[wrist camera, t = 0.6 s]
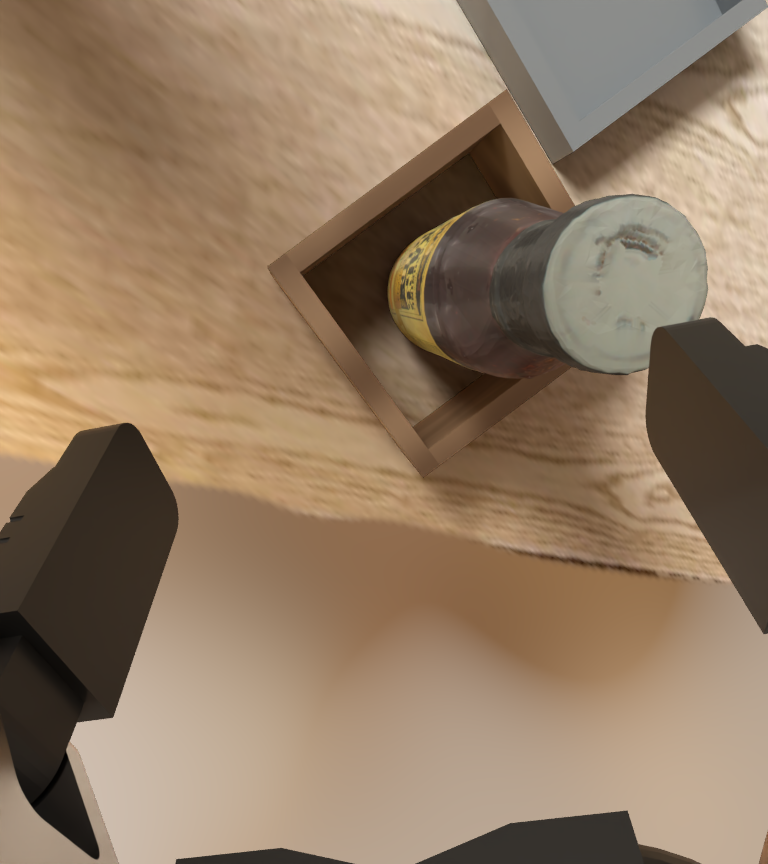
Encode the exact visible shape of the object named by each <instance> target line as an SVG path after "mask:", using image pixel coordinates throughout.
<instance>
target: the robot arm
mask: <svg viewBox="0 0 768 864" xmlns="http://www.w3.org/2000/svg"><path fill="white" fill-rule="evenodd" d="M646 427H647V433H648V438H649V441H650V444H651V447H652V450H653V452H654V454H655V456H656V457H657V459H658V461H659V462H660V464H661V466H662V467H663V469H664V470H665V472H666V474H667V475H668V477H669V479H670V480H671V482H672V484H673V485H674V487H675V489H676V490H677V492H678V494H679V495H680V497H681V499H682V500H683V502H684V503H685V505H686V507H687V508H688V510H689V512H690V513H691V515H692V517H693V518H694V520H695V522H696V523H697V525H698V527H699V528H700V530H701V532H702V533H703V535H704V536H705V538H706V540H707V541H708V543H709V545H710V546H711V548H712V550H713V551H714V553H715V555H716V556H717V558H718V560H719V561H720V563H721V564H722V566H723V568H724V569H725V571H726V573H727V574H728V576H729V578H730V579H731V581H732V583H733V584H734V586H735V588H736V589H737V591H738V593H739V594H740V596H741V597H742V599H743V601H744V602H745V604H746V606H747V607H748V609H749V611H750V612H751V614H752V616H753V617H754V619H755V621H756V622H757V624H758V625H759V627H760V628H761V630H762V632H763V634H767V633H768V349H767V348H765V347H763V346H760V345H758V344H756V345H751V346H744V345H743V344H742V343H741V342H740V341H739V340H738V339H737V338H736V337H735V336H734V335H733V334H732V333H731V332H730V331H729V330H728V329H727V328H726V327H725V326H724V325H723V324H722V323H721V322H720V321H718V320H717V319H715V318H705V319H699V320H694V321H688V322H683V323H677V324H672V325H666V326H661V327H657V328H656V329H655V331H654V332H653V335H652V339H651V346H650V360H649V374H648V388H647V402H646ZM177 528H178V508H177V503H176V499H175V497H174V494H173V492H172V490H171V488H170V486H169V484H168V483H167V481H166V479H165V477H164V475H163V473H162V472H161V470H160V468H159V466H158V464H157V462H156V461H155V459H154V457H153V455H152V453H151V451H150V450H149V448H148V446H147V444H146V442H145V440H144V439H143V437H142V435H141V433H140V432H139V430H138V429H137V428H136V427H135V426H134V425H132V424H130V423H122V424H116V425H111V426H105V427H100V428H94V429H89V430H83V431H80V432H78V433H77V434H76V435H75V437H74V438H73V440H72V441H71V443H70V444H69V446H68V447H67V449H66V451H65V452H64V454H63V455H62V457H61V458H60V460H59V462H58V463H57V465H56V466H55V467H54V468H52V469H51V470H50V471H49V472H48V473H47V474H46V475H45V476H44V477H43V478H41V479H40V480H39V481H38V482H37V483H36V484H35V485H34V486H33V487H32V488H31V489H29V490H28V491H27V492H26V494H25V495H24V497H23V498H22V500H21V501H20V503H19V504H18V506H17V507H16V509H15V510H14V512H13V513H12V515H11V517H10V522H9V523H6V524H5V526H4V527H3V529H2V530H1V532H0V864H119V862H118V859H117V857H116V854H115V851H114V848H113V846H112V843H111V840H110V837H109V835H108V832H107V829H106V826H105V823H104V821H103V818H102V815H101V812H100V809H99V807H98V804H97V801H96V798H95V795H94V793H93V790H92V787H91V785H90V782H89V779H88V776H87V773H86V771H85V768H84V765H83V762H82V759H81V757H80V754H79V752H78V750H77V749H76V748H75V747H74V746H73V745H72V744H71V743H70V742H69V741H70V739H71V736H72V733H73V731H74V728H75V726H76V723H77V722H84V721H91V720H99V719H106V718H113V716H114V713H115V711H116V707H117V705H118V702H119V698H120V696H121V693H122V690H123V687H124V684H125V681H126V678H127V675H128V672H129V670H130V667H131V664H132V661H133V658H134V655H135V652H136V649H137V646H138V643H139V640H140V637H141V634H142V631H143V628H144V626H145V623H146V620H147V617H148V614H149V611H150V608H151V605H152V602H153V599H154V596H155V593H156V590H157V588H158V584H159V582H160V579H161V576H162V573H163V570H164V567H165V564H166V561H167V558H168V555H169V552H170V549H171V546H172V543H173V541H174V538H175V534H176V532H177ZM176 864H353V863H348V862H343V861H339V860H334V859H330V858H325V857H320V856H316V855H311V854H306V853H302V852H297V851H293V850H288V849H283V848H277V849H268V850H258V851H249V852H241V853H231V854H221V855H212V856H203V857H194V858H184V859H177V860H176ZM416 864H700V863H698V862H696V861H694V860H692V859H689V858H686V857H683V856H680V855H677V854H674V853H670V852H668V851H665V850H661V849H658V848H654V847H649V846H644V845H639V844H638V843H637V840H636V837H635V834H634V830H633V827H632V824H631V820H630V818H629V814H628V811H620V812H611V813H603V814H593V815H583V816H574V817H564V818H555V819H546V820H537V821H528V822H518V823H510V824H508V825H505V826H503V827H501V828H498V829H496V830H494V831H491V832H489V833H487V834H484V835H482V836H480V837H477V838H475V839H473V840H470V841H468V842H466V843H463V844H461V845H458V846H456V847H454V848H451V849H449V850H447V851H444V852H442V853H440V854H437V855H435V856H433V857H430V858H428V859H426V860H423V861H421V862H419V863H416ZM759 864H768V832H767V836H766V839H765V842H764V846H763V850H762V853H761V857H760V861H759Z"/></svg>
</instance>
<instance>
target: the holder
mask: <svg viewBox="0 0 768 864" xmlns="http://www.w3.org/2000/svg"><path fill="white" fill-rule="evenodd" d="M468 153H469V154H470V156H471V157H472V159H473V161H474V162H475V164H476V166H477V167H478V169H479V170H480V172H481V174H482V175H483V177H484V179H485V180H486V182H487V183H488V185H489V187H490V188H491V190H492V191H493V193H494V195H495V196H496V198H497V199H499V198H515V199H520V200H524V201H527V202H530V203H534V204H537V205H540V206H543V207H546V208H549V209H552V210H556V211H559V212H562V213H565V212H567V211H568V210H569V209H571V208H572V207H574V206H575V205H574V203H573V202H572V200H571V198H570V197H569V195H568V193H567V191H566V190H565V188H564V186H563V185H562V183H561V181H560V179H559V178H558V176H557V174H556V173H555V171H554V169H553V167H552V166H551V164H550V162H549V161H548V159H547V157H546V155H545V154H544V152H543V150H542V149H541V147H540V145H539V144H538V142H537V140H536V138H535V137H534V135H533V133H532V132H531V130H530V128H529V126H528V125H527V123H526V121H525V120H524V118H523V116H522V114H521V113H520V111H519V109H518V108H517V106H516V104H515V102H514V101H513V99H512V97H511V96H510V94H509V92H508V91H507V89H506V90H505V91H504V92H502V93H501V94H500V95H498V96H497V97H495V98H494V99H493V100H491V101H490V102H489V103H487V104H486V105H485V106H483V107H482V108H481V109H479V110H478V111H477V112H475V113H474V114H473V115H471V116H470V117H469V118H467V119H466V120H464V121H463V122H462V123H460V124H459V125H458V126H456V127H455V128H454V129H452V130H451V131H450V132H448V133H447V134H446V135H444V136H443V137H442V138H440V139H439V140H438V141H436V142H435V143H433V144H432V145H431V146H429V147H428V148H427V149H425V150H424V151H423V152H421V153H420V154H419V155H417V156H416V157H415V158H413V159H412V160H411V161H409V162H408V163H406V164H405V165H404V166H402V167H401V168H400V169H398V170H397V171H396V172H394V173H393V174H392V175H390V176H389V177H388V178H386V179H385V180H384V181H382V182H381V183H380V184H378V185H377V186H375V187H374V188H373V189H371V190H370V191H369V192H367V193H366V194H365V195H363V196H362V197H361V198H359V199H358V200H357V201H355V202H354V203H353V204H351V205H350V206H349V207H347V208H346V209H344V210H343V211H342V212H340V213H339V214H338V215H336V216H335V217H334V218H332V219H331V220H330V221H328V222H327V223H326V224H324V225H323V226H322V227H320V228H319V229H317V230H316V231H315V232H313V233H312V234H311V235H309V236H308V237H307V238H305V239H304V240H303V241H301V242H300V243H299V244H297V245H296V246H295V247H293V248H292V249H291V250H289V251H288V252H286V253H285V254H284V255H282V256H281V257H280V258H278V259H277V260H276V261H274V262H273V263H272V264H270V265H269V266H268V269H269V271H270V273H271V275H272V276H273V278H274V279H275V280H276V282H277V283H278V285H279V286H280V287H281V289H282V290H283V291H284V293H285V294H286V295H287V297H288V298H289V299H290V301H291V302H292V303H293V305H294V306H295V307H296V309H297V310H298V312H299V313H300V314H301V316H302V317H303V318H304V320H305V321H306V322H307V324H308V325H309V326H310V328H311V329H312V330H313V332H314V333H315V334H316V336H317V337H318V339H319V340H320V341H321V343H322V344H323V345H324V347H325V348H326V349H327V351H328V352H329V353H330V355H331V356H332V357H333V359H334V360H335V361H336V363H337V364H338V366H339V367H340V368H341V370H342V371H343V372H344V374H345V375H346V376H347V378H348V379H349V380H350V382H351V383H352V384H353V386H354V387H355V388H356V390H357V391H358V393H359V394H360V395H361V397H362V398H363V399H364V401H365V402H366V403H367V405H368V406H369V407H370V409H371V410H372V411H373V413H374V414H375V415H376V417H377V418H378V420H379V421H380V422H381V424H382V425H383V426H384V428H385V429H386V430H387V432H388V433H389V434H390V436H391V437H392V438H393V440H394V441H395V442H396V444H397V445H398V447H399V448H400V449H401V451H402V452H403V453H404V455H405V456H406V457H407V458H408V460H409V461H410V462H411V463H412V465H413V466H414V467H415V468H416V469H417V471H418V472H419V473H420V474H421V476H422V477H423V478H424V477H425V476H426V475H428V474H429V473H430V472H432V471H433V470H434V469H436V468H437V467H438V466H440V465H441V464H442V463H444V462H445V461H446V460H448V459H449V458H450V457H452V456H453V455H454V454H456V453H457V452H458V451H460V450H461V449H462V448H464V447H465V446H466V445H468V444H469V443H470V442H472V441H473V440H474V439H476V438H477V437H478V436H480V435H481V434H482V433H484V432H485V431H486V430H488V429H489V428H490V427H492V426H493V425H495V424H496V423H497V422H499V421H500V420H501V419H503V418H504V417H505V416H507V415H508V414H509V413H511V412H512V411H513V410H515V409H516V408H517V407H519V406H520V405H521V404H523V403H524V402H525V401H527V400H528V399H529V398H531V397H532V396H533V395H535V394H536V393H537V392H539V391H540V390H541V389H543V388H544V387H545V386H547V385H548V384H549V383H551V382H552V381H553V380H555V379H556V378H557V377H559V376H560V375H561V374H563V373H564V372H566V371H567V370H568V369H570V368H571V366H569V365H567V364H565V365H563V366H561V367H558V368H557V369H556V370H553V371H550V372H548V373H545V374H543V375H540V376H535V377H534V378H532V379H526V378H521V379H519V378H518V379H514V378H504V377H496V376H493V375H490V374H486V373H485V374H484V375H482V376H481V377H480V378H478V379H477V380H476V381H474V382H473V383H472V384H470V385H469V386H468V387H466V388H465V389H463V390H462V391H461V392H459V393H458V394H457V395H455V396H454V397H453V398H451V399H450V400H449V401H447V402H446V403H445V404H443V405H442V406H441V407H439V408H438V409H437V410H435V411H434V412H433V413H431V414H430V415H429V416H427V417H426V418H425V419H423V420H422V421H421V422H419V423H418V424H417V425H415V426H414V427H413V428H412V426H411V425H410V423H409V422H408V421H407V419H406V418H405V417H404V415H403V414H402V412H401V411H400V410H399V408H398V407H397V406H396V404H395V403H394V401H393V400H392V399H391V397H390V396H389V395H388V393H387V392H386V390H385V389H384V388H383V386H382V385H381V384H380V382H379V381H378V379H377V378H376V377H375V375H374V374H373V373H372V371H371V370H370V368H369V367H368V366H367V364H366V363H365V362H364V360H363V359H362V357H361V356H360V355H359V353H358V352H357V351H356V349H355V348H354V346H353V345H352V344H351V342H350V341H349V340H348V338H347V337H346V335H345V334H344V333H343V331H342V330H341V329H340V327H339V326H338V324H337V323H336V322H335V320H334V319H333V318H332V316H331V315H330V313H329V312H328V311H327V309H326V308H325V307H324V305H323V304H322V302H321V301H320V300H319V298H318V297H317V296H316V294H315V293H314V291H313V290H312V289H311V287H310V286H309V285H308V283H307V282H306V280H305V279H304V278H303V276H304V275H305V274H307V273H308V272H309V271H311V270H312V269H313V268H315V267H316V266H317V265H319V264H320V263H321V262H323V261H324V260H325V259H327V258H328V257H329V256H331V255H332V254H333V253H335V252H336V251H338V250H339V249H340V248H342V247H343V246H344V245H346V244H347V243H348V242H350V241H351V240H352V239H354V238H355V237H356V236H358V235H359V234H360V233H362V232H363V231H364V230H366V229H367V228H369V227H370V226H371V225H373V224H374V223H375V222H377V221H378V220H379V219H381V218H382V217H383V216H385V215H386V214H387V213H389V212H390V211H391V210H393V209H394V208H395V207H397V206H398V205H400V204H401V203H402V202H404V201H405V200H406V199H408V198H409V197H410V196H412V195H413V194H414V193H416V192H417V191H418V190H420V189H421V188H422V187H424V186H425V185H426V184H428V183H429V182H431V181H432V180H433V179H435V178H436V177H437V176H439V175H440V174H441V173H443V172H444V171H445V170H447V169H448V168H449V167H451V166H452V165H453V164H455V163H456V162H457V161H459V160H460V159H462V158H463V157H464V156H466V155H467V154H468Z"/></svg>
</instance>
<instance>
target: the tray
mask: <svg viewBox="0 0 768 864" xmlns="http://www.w3.org/2000/svg"><path fill="white" fill-rule="evenodd" d="M457 1H458V3H459V5H460V6H461V8H462V10H463V12H464V13H465V15H466V17H467V18H468V20H469V22H470V24H471V25H472V27H473V29H474V30H475V32H476V34H477V36H478V37H479V39H480V41H481V42H482V44H483V46H484V48H485V49H486V51H487V53H488V54H489V56H490V58H491V60H492V61H493V63H494V65H495V66H496V68H497V70H498V72H499V73H500V75H501V77H502V78H503V80H504V82H505V84H506V85H507V87H508V89H509V90H510V92H511V94H512V95H513V97H514V99H515V101H516V102H517V104H518V106H519V107H520V109H521V111H522V113H523V114H524V116H525V118H526V119H527V121H528V123H529V125H530V126H531V128H532V130H533V131H534V133H535V135H536V137H537V138H538V140H539V142H540V143H541V145H542V147H543V149H544V150H545V152H546V154H547V155H548V157H549V159H550V161H551V162H552V164H553V163H555V162H557V161H559V160H560V159H562V158H564V157H565V156H567V155H569V154H570V153H572V152H574V151H575V150H576V149H578V148H579V147H580V146H582V145H583V144H585V143H586V142H587V141H589V140H590V139H591V138H593V137H594V136H595V135H597V134H598V133H599V132H601V131H602V130H603V129H605V128H606V127H607V126H609V125H610V124H611V123H613V122H614V121H615V120H617V119H618V118H619V117H621V116H622V115H624V114H625V113H626V112H628V111H629V110H630V109H632V108H633V107H634V106H636V105H637V104H638V103H640V102H641V101H642V100H644V99H645V98H646V97H648V96H649V95H650V94H652V93H653V92H654V91H656V90H657V89H659V88H660V87H661V86H663V85H664V84H665V83H667V82H668V81H669V80H671V79H672V78H673V77H675V76H676V75H677V74H679V73H680V72H681V71H683V70H684V69H685V68H687V67H688V66H689V65H691V64H692V63H693V62H695V61H696V60H698V59H699V58H700V57H702V56H703V55H704V54H706V53H707V52H708V51H710V50H711V49H712V48H714V47H715V46H716V45H718V44H719V43H720V42H722V41H723V40H724V39H726V38H727V37H728V36H730V35H731V34H733V33H734V32H735V31H737V30H738V29H739V28H741V27H742V26H743V25H745V24H746V23H747V22H749V21H750V20H751V19H753V18H754V17H755V16H757V15H758V14H759V13H761V12H762V11H763V10H765V9H766V8H767V7H768V5H767V3H766V1H765V0H457Z"/></svg>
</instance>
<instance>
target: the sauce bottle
mask: <svg viewBox="0 0 768 864" xmlns="http://www.w3.org/2000/svg"><path fill="white" fill-rule="evenodd" d="M707 270H708V268H707V259H706V252H705V249H704V246H703V244H702V242H701V240H700V237H699V235H698V233H697V232H696V230H695V229H694V228H693V227H692V225H691V224H690V222H689V221H688V220H687V218H686V217H685V216H684V215H683V214H682V213H680V212H679V211H677V210H676V209H675V208H673V207H672V206H671V205H669V204H668V203H667V202H664V201H662V200H660V199H658V198H655V197H650V196H643V195H635V194H627V195H615V196H606V197H603V198H599V199H593V200H589V201H585V202H583V203H581V204H579V205H577V206H574V207H572V208H571V209H569V210H568V211H567V212H565V213H562V212H559V211H556V210H552V209H549V208H546V207H543V206H540V205H537V204H534V203H530V202H527V201H524V200H520V199H515V198H499V199H494V200H490V201H487V202H484V203H482V204H480V205H477V206H474V207H472V208H470V209H469V210H467V211H465V212H464V213H462V214H460V215H458V216H455V217H453V218H451V219H449V220H448V221H446V222H444V223H443V224H441V225H439V226H437V227H436V228H434V229H432V230H430V231H428V232H427V233H425V234H423V235H421V236H419V237H418V238H416V239H415V240H414V241H412V242H411V243H410V244H409V245H408V246H407V247H406V248H405V249H404V250H403V251H402V252H401V254H400V255H399V257H398V258H397V259H396V261H395V263H394V265H393V268H392V270H391V273H390V276H389V282H388V289H387V297H388V303H389V308H390V312H391V315H392V317H393V320H394V322H395V323H396V325H397V327H398V328H399V329H400V331H401V332H402V333H403V334H404V335H405V337H406V338H408V339H409V340H410V341H411V342H412V343H414V344H415V345H417V346H418V347H420V348H422V349H424V350H426V351H429V352H431V353H434V354H436V355H439V356H441V357H444V358H446V359H448V360H450V361H453V362H455V363H457V364H459V365H462V366H464V367H466V368H469V369H471V370H475V371H479V372H480V373H486V374H490V375H493V376H496V377H504V378H514V379H518V378H519V379H521V378H526V379H532V378H534V377H535V376H540V375H543V374H545V373H548V372H550V371H553V370H556V369H557V368H558V367H561V366H563V365H565V364H567V365H569V366H571V367H575V368H577V369H579V370H583V371H589V372H594V373H603V374H612V375H628V374H630V373H633V372H638V371H642V370H645V369H647V368H649V360H650V346H651V339H652V335H653V332H654V331H655V329H656V328H657V327H661V326H666V325H672V324H677V323H683V322H688V321H694V320H699V318H700V316H701V314H702V311H703V308H704V305H705V301H706V297H707V292H708V285H707Z"/></svg>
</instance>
